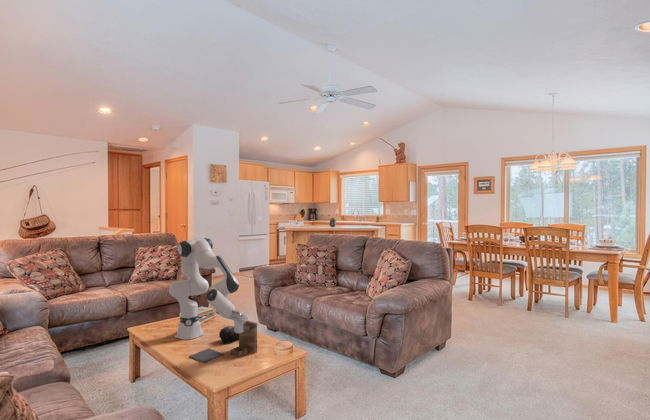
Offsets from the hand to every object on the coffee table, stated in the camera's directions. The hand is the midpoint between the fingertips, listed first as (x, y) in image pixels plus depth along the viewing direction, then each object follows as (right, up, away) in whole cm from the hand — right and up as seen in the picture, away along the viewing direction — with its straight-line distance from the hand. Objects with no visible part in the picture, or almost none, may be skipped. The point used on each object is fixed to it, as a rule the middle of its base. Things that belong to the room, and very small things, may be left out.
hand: (239, 321), depth 222 cm
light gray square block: (0, -6, 0) cm, 6 cm away
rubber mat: (-19, -19, -3) cm, 28 cm away
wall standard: (+1, -19, +1) cm, 19 cm away
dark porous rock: (-11, -19, +23) cm, 32 cm away
